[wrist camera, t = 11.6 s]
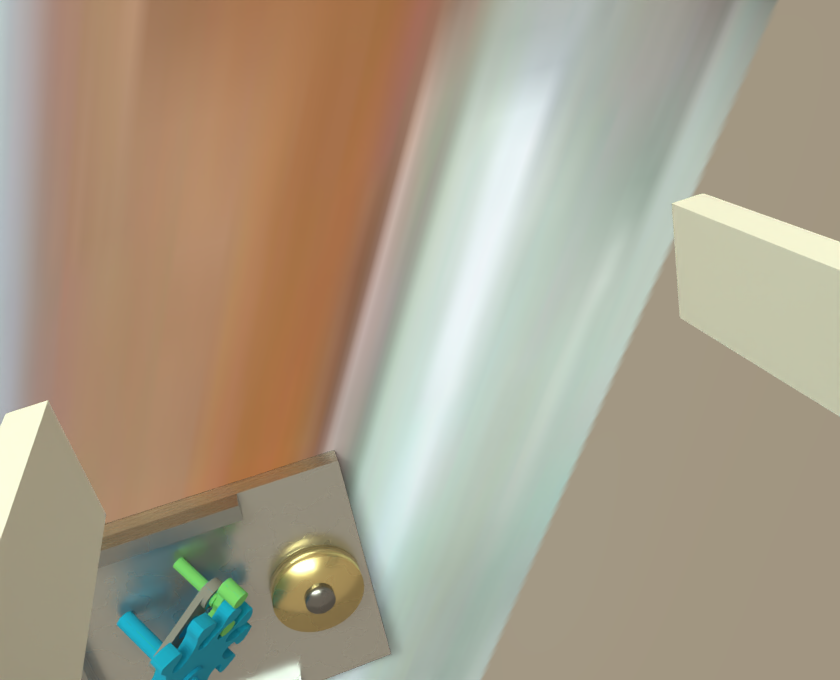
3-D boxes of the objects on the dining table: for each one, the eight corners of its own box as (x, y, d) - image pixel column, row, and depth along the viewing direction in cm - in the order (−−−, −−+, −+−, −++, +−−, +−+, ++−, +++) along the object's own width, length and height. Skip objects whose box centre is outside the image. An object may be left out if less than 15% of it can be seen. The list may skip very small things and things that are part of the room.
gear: (191, 734, 47) (82, 799, 37) (126, 669, 49) (7, 714, 39) (295, 587, 47) (213, 614, 38) (227, 526, 49) (132, 538, 39)
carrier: (333, 450, 46) (344, 476, 43) (386, 641, 53) (398, 674, 50) (19, 551, 42) (10, 587, 40) (120, 741, 49) (118, 783, 47)
